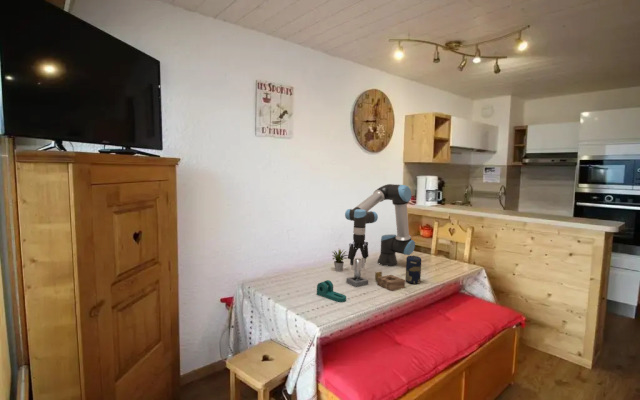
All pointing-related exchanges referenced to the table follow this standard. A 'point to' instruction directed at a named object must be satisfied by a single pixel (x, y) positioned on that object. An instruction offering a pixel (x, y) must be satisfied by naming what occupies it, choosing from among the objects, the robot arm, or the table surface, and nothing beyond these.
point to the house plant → (339, 260)
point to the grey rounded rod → (357, 270)
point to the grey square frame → (357, 282)
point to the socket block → (391, 282)
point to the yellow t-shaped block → (378, 275)
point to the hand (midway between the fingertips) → (357, 268)
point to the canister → (413, 269)
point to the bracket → (329, 292)
